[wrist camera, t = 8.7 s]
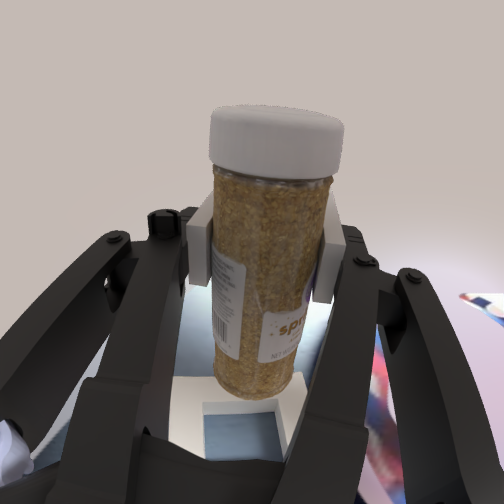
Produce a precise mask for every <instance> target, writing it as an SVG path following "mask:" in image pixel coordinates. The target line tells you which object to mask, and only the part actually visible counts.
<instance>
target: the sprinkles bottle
mask: <svg viewBox="0 0 504 504" xmlns="http://www.w3.org/2000/svg"><path fill="white" fill-rule="evenodd" d="M343 133H344V126H343V123H342V122H341V121H340V120H338V119H337V118H334V117H331V116H327V115H324V114H321V113H317V112H313V111H308V110H302V109H296V108H288V107H278V106H266V105H236V106H224V107H219V108H217V109H215V110H214V111H213V113H212V115H211V125H210V144H209V157H210V160H211V161H212V162H213V163H214V164H213V174H214V193H213V196H214V202H213V205H214V206H213V234H212V239H211V266H212V325H213V336H214V339H215V358H214V364H213V368H214V375H215V378H216V379H217V381H218V383H219V384H220V386H221V387H222V388H223V389H224V390H226V391H227V392H228V393H230V394H232V395H234V396H236V397H238V398H241V399H244V400H254V401H256V400H263V399H266V398H270V397H273V396H275V395H277V394H279V393H280V392H282V391H283V390H284V389H285V388H286V387H287V385H288V384H289V382H290V381H291V379H292V375H293V371H294V366H293V363H294V359H295V356H296V351H297V348H298V344H299V342H300V340H301V336H302V332H303V328H304V324H305V319H306V315H307V309H308V305H309V301H310V296H311V291H312V286H313V282H314V277H315V273H316V268H317V263H318V251H319V247H320V240H321V235H322V231H323V224H324V220H325V212H326V206H327V201H328V197H329V190H330V185H331V184H332V183H333V177H332V175H333V174H335V173H336V172H337V171H338V169H339V163H340V158H341V152H342V144H343Z"/></svg>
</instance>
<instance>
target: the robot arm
mask: <svg viewBox="0 0 504 504" xmlns="http://www.w3.org/2000/svg"><path fill="white" fill-rule="evenodd" d="M213 193H214V190H213V191H212V192H211V193H210V195H209V196H208V197H207V198H206V200H205V201H204V202H203V204H202V205H201V206H200V207H199V208H198V207H188V208H186V209H184V210H182V211H181V212H178V211H176V210H172V209H161V210H157V211H154V212H152V213H150V214H149V215H148V216H147V217H148V228H149V237H148V239H147V240H146V241H134V242H131V240H130V235H129V233H127V232H125V231H118V230H115V231H111V232H109V233H106V234H104V235H103V236H101V237H100V238H99V239H98V240H97V241H96V242H95V243H93V244H92V245H91V246H90V247H89V248H88V249H87V250H86V251H85V252H84V253H83V254H82V255H80V256H79V257H78V258H77V259H76V260H75V261H74V262H73V263H72V264H71V265H70V266H69V267H68V268H67V269H66V270H65V271H64V272H63V273H62V274H61V275H60V276H59V277H58V278H57V279H56V280H55V281H54V282H53V283H52V284H51V285H50V286H49V287H48V288H47V289H46V290H45V291H44V292H43V293H42V294H41V295H40V296H39V297H38V298H37V299H36V300H35V301H34V302H33V303H32V304H31V306H30V307H29V308H28V309H27V310H26V311H25V312H24V313H23V314H22V315H21V316H20V318H19V319H18V320H17V321H16V322H15V323H14V324H13V325H12V327H11V328H10V329H9V330H8V331H7V332H6V333H5V335H4V336H3V337H2V338H1V339H0V504H354V500H355V497H356V493H357V489H358V485H359V481H360V477H361V472H362V468H363V463H364V459H365V454H366V449H367V444H368V436H369V432H368V429H367V428H365V427H364V419H365V414H366V408H367V402H368V395H369V388H370V381H371V374H372V365H373V357H374V347H375V336H376V324H378V331H379V336H380V340H381V344H382V349H383V353H384V358H385V362H386V367H387V372H388V377H389V382H390V387H391V392H392V398H393V403H394V409H395V415H396V422H397V428H398V435H399V443H400V450H401V459H402V468H403V478H404V489H405V498H406V504H504V471H503V469H502V467H501V465H500V462H499V458H498V454H497V450H496V446H495V442H494V438H493V435H492V431H491V428H490V424H489V421H488V418H487V414H486V411H485V408H484V405H483V402H482V399H481V397H480V394H479V391H478V388H477V385H476V382H475V380H474V377H473V375H472V372H471V369H470V367H469V364H468V362H467V359H466V357H465V355H464V352H463V350H462V348H461V345H460V343H459V341H458V338H457V336H456V334H455V331H454V329H453V327H452V325H451V323H450V321H449V319H448V317H447V314H446V313H445V310H444V308H443V307H442V305H441V302H440V300H439V298H438V296H437V294H436V292H435V290H434V289H433V287H432V285H431V283H430V281H429V279H428V278H427V277H426V276H425V275H424V274H423V273H422V272H420V271H419V270H416V269H412V268H402V269H400V270H399V272H398V274H397V276H395V275H392V274H389V273H386V272H384V271H382V270H380V269H379V263H378V261H377V260H376V259H375V258H374V257H372V256H371V255H369V254H368V251H367V248H366V245H365V242H364V239H363V236H362V233H361V232H360V231H359V230H358V229H357V228H356V227H354V226H347V225H341V222H340V218H339V214H338V211H337V207H336V203H335V199H334V196H333V192H332V189H331V187H330V190H329V197H328V201H327V206H326V212H325V220H324V224H323V231H322V235H321V240H320V247H319V251H318V263H317V268H316V273H315V277H314V282H313V286H312V300H313V302H319V303H327V304H331V301H332V298H333V294H334V303H333V306H332V310H331V313H330V316H329V320H328V323H327V324H328V325H327V329H326V332H325V336H324V339H323V343H322V346H321V350H320V353H319V357H318V360H317V363H316V367H315V370H314V373H313V376H312V380H311V383H310V386H309V389H308V392H307V395H306V398H305V401H304V404H303V407H302V410H301V413H300V416H299V418H298V421H297V424H296V427H295V430H294V432H293V435H292V438H291V441H290V443H289V446H288V448H287V451H286V454H285V456H284V458H283V461H282V462H275V461H267V460H259V459H254V460H239V461H209V460H206V459H204V458H202V457H200V456H198V455H196V454H193V453H191V452H189V451H187V450H186V449H184V448H182V447H180V446H178V445H176V444H174V443H172V442H170V441H168V420H169V410H170V400H171V391H172V382H173V374H174V365H175V357H176V350H177V342H178V335H179V328H180V321H181V314H182V308H183V301H184V295H185V278H186V277H187V275H188V274H189V284H193V285H199V286H205V287H207V285H208V283H209V280H210V278H211V276H212V266H211V239H212V234H213V206H214V205H213V202H214V196H213ZM106 278H107V281H108V283H107V284H106V285H105V286H104V283H105V280H106ZM109 334H110V335H109ZM108 335H109V338H108V341H107V344H106V347H105V350H104V353H103V356H102V359H101V362H100V365H99V369H98V372H97V374H96V376H95V377H94V378H92V377H87V378H86V379H85V380H84V381H83V383H82V385H81V387H80V390H79V393H78V397H77V400H76V403H75V407H74V410H73V414H72V417H71V421H70V424H69V428H68V432H67V436H66V440H65V444H64V448H63V452H62V456H61V460H60V461H58V462H56V463H54V464H52V465H49V466H47V467H45V468H43V469H41V470H39V471H36V472H34V473H32V474H30V473H31V472H32V471H33V469H34V463H33V461H32V459H31V458H30V453H32V452H33V451H34V450H35V449H36V448H37V446H38V445H39V444H40V442H41V441H42V440H43V439H44V438H45V436H46V434H47V433H48V431H49V430H50V428H51V427H52V425H53V423H54V421H55V420H56V418H57V416H58V415H59V413H60V411H61V410H62V408H63V406H64V405H65V403H66V401H67V400H68V398H69V396H70V395H71V393H72V391H73V390H74V388H75V386H76V385H77V383H78V381H79V380H80V378H81V377H82V375H83V374H84V372H85V370H86V369H87V367H88V366H89V364H90V363H91V361H92V360H93V358H94V357H95V355H96V354H97V352H98V350H99V349H100V347H101V346H102V344H103V343H104V341H105V340H106V338H107V337H108ZM23 474H30V475H27V476H25V477H23V478H22V475H23Z"/></svg>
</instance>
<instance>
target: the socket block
mask: <svg viewBox="0 0 504 504" xmlns="http://www.w3.org/2000/svg"><path fill="white" fill-rule="evenodd" d="M306 395H307V388H306V385H305V381H304V378H303V374H302V372H293V375H292V379H291V381H290V382H289V384H288V385H287V387H286V388H285V389H284V390H283V391H282V392H280V393H279V394H277V395H275V396H273V397H270V398H266V399H263V400H256V401H254V400H244V399H241V398H238V397H236V396H234V395H232V394H230V393H228V392H227V391H226V390H224V389H223V388H222V387H221V386H220V384H219V383H218V381H217V379H216V378H215V377H184V376H173V382H172V391H171V400H170V416H169V441H170V442H172V443H174V444H176V445H178V446H180V447H182V448H184V449H186V450H187V451H189V452H191V453H193V454H196V455H198V456H200V457H202V458H204V459H206V458H205V435H204V415H227V414H249V413H264V412H275V417H276V423H277V428H278V433H279V438H280V444H281V449H282V454H283V458H284V456H285V454H286V451H287V448H288V446H289V443H290V441H291V438H292V435H293V432H294V430H295V427H296V424H297V421H298V418H299V416H300V413H301V410H302V407H303V404H304V401H305V398H306Z"/></svg>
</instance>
